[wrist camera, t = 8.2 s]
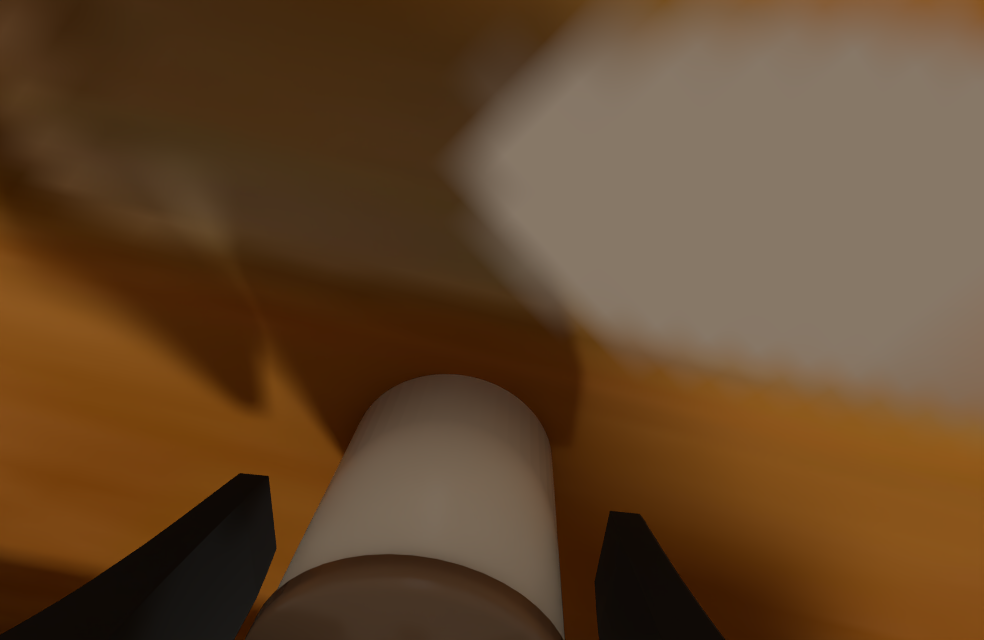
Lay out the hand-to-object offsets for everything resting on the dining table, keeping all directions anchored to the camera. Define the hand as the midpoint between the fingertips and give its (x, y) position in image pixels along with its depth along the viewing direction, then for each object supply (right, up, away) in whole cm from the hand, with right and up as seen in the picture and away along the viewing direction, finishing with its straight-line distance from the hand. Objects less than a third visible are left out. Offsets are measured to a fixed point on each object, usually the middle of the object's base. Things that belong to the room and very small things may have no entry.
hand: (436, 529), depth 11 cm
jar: (0, +1, +2) cm, 2 cm away
